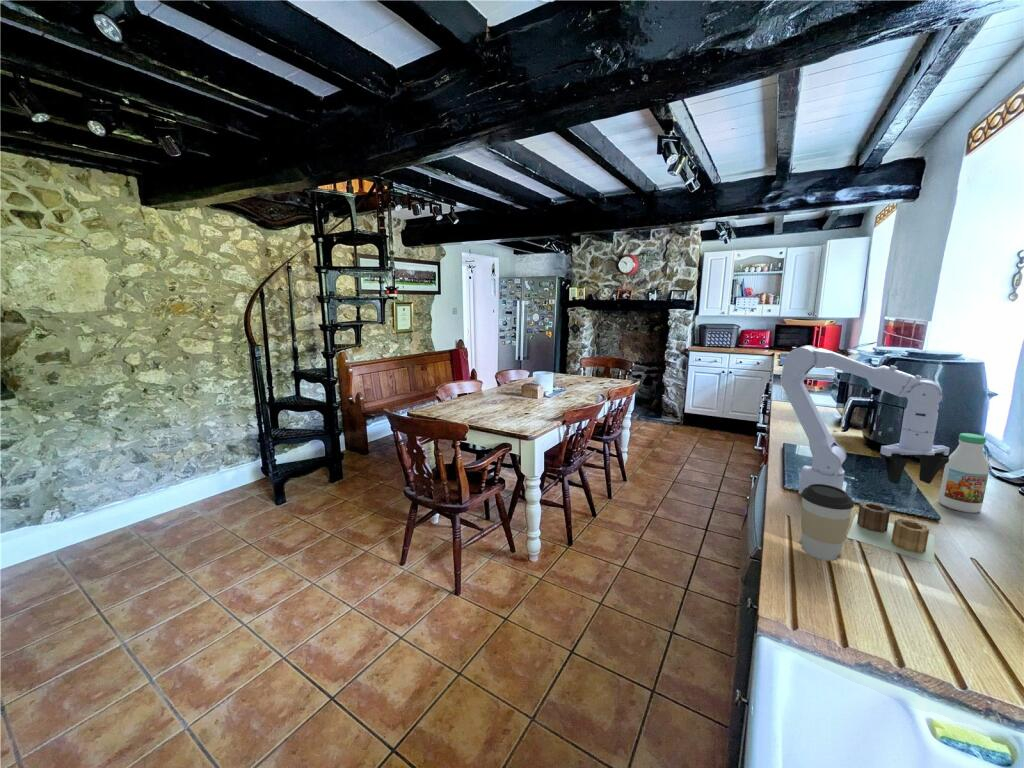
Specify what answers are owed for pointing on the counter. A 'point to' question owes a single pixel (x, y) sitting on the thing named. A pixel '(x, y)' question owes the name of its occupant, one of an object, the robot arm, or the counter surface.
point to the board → (889, 541)
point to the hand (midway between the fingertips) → (909, 482)
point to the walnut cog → (873, 517)
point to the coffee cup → (824, 520)
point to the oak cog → (910, 535)
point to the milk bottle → (965, 475)
